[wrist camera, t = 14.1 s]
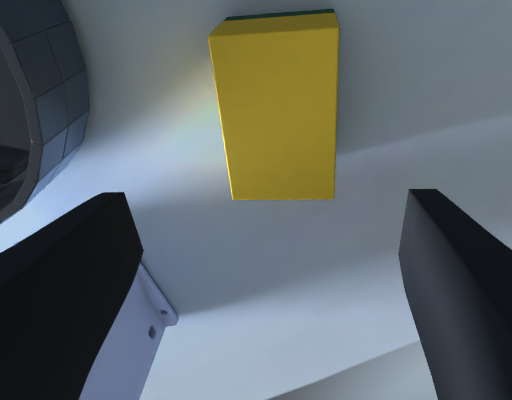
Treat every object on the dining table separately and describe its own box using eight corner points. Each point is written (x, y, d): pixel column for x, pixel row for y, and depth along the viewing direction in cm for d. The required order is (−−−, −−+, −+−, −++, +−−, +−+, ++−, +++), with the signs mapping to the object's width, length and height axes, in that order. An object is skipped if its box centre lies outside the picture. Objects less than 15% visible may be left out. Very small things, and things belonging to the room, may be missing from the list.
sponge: (226, 16, 16) (207, 35, 13) (334, 8, 15) (339, 26, 12) (243, 160, 20) (232, 200, 17) (330, 158, 19) (334, 199, 16)
